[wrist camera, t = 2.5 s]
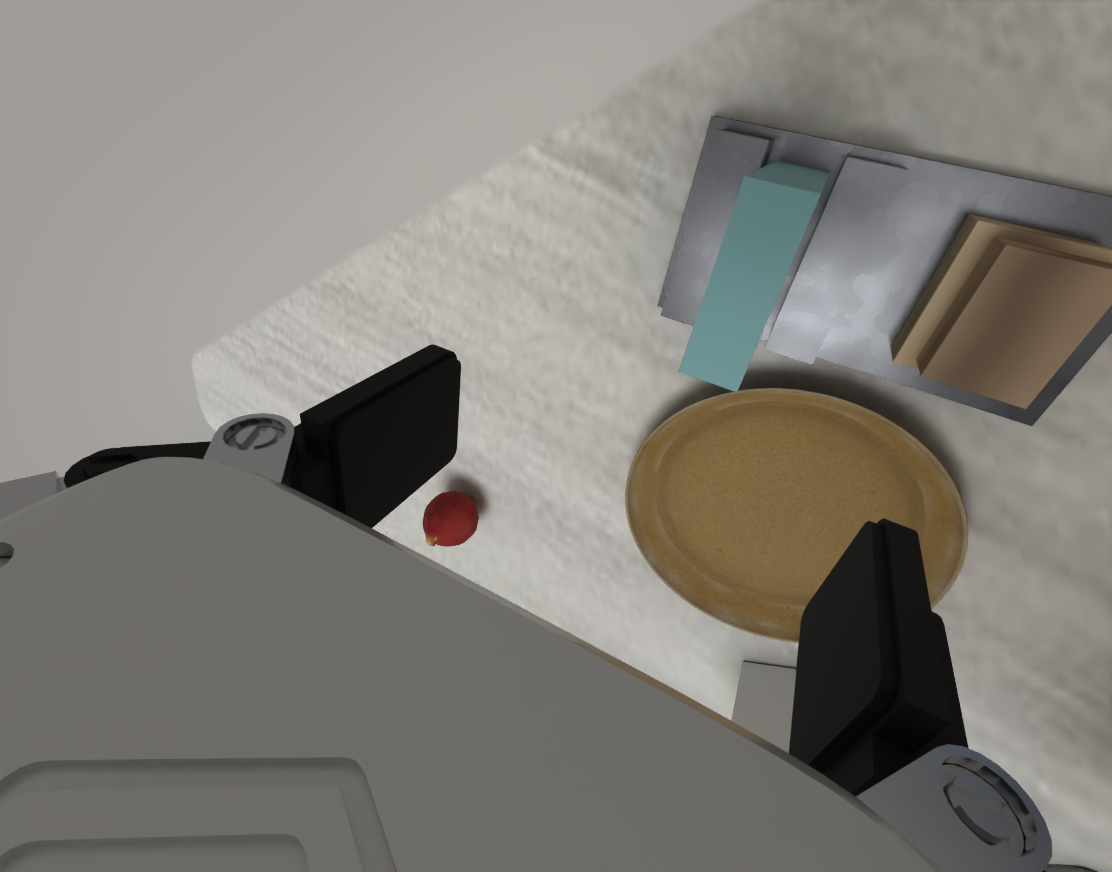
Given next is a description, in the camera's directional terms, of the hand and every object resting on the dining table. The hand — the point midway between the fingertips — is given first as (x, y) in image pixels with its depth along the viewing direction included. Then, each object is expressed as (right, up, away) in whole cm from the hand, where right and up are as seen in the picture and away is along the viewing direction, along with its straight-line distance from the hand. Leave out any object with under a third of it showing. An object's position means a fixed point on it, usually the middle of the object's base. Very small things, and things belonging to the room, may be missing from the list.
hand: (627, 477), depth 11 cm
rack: (+18, +11, +20) cm, 29 cm away
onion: (-11, -6, +48) cm, 49 cm away
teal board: (+12, +13, +21) cm, 28 cm away
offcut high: (+22, +7, +15) cm, 28 cm away
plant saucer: (+17, -5, +31) cm, 36 cm away
